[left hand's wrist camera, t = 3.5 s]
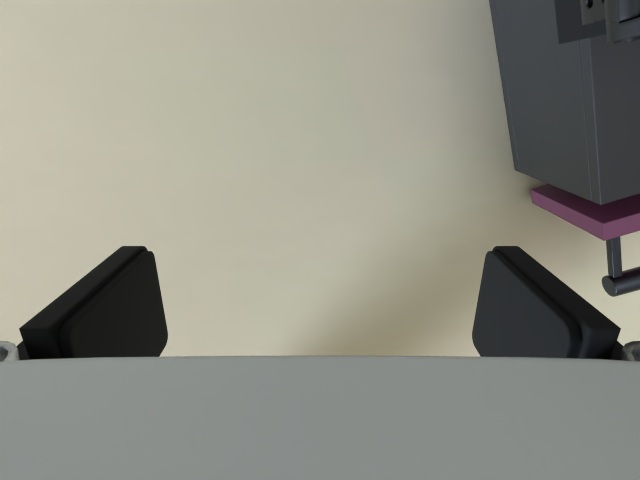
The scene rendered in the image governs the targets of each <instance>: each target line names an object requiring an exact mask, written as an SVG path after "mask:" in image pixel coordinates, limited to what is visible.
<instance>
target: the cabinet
mask: <svg viewBox="0 0 640 480" xmlns="http://www.w3.org/2000/svg"><path fill="white" fill-rule="evenodd" d="M489 1H490V8H491V14H492V21H493V28H494V34H495V41H496V47H497V54H498V61H499V67H500V74H501V80H502V87H503V94H504V100H505V107H506V113H507V120H508V127H509V133H510V140H511V146H512V153H513V160H514V166H515V170H516V171H519V172H521V173H524V174H526V175H529V176H531V177H534V178H536V179H538V180H541V181H543V182H546V183H548V184H551V185H553V186H556V187H558V188H560V189H563V190H565V191H568V192H570V193H573V194H575V195H578V196H580V197H582V198H585V199H587V200H590V201H593V202H595V203H598V204H600V205H603V204H606V203H609V202H613V201H616V200H619V199H623V198H626V197H629V196H633V195H636V194H639V193H640V39H639V40H636V41H633V42H629V43H624V44H622V42H618V43H615V44H612V42H610V43H607V34H605V35H601V36H596V37H591V38H587V39H582V40H577V41H573V42H568V43H563V44H559V41H558V32H557V22H556V13H555V3H554V0H489Z"/></svg>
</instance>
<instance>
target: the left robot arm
mask: <svg viewBox="0 0 640 480" xmlns="http://www.w3.org/2000/svg"><path fill="white" fill-rule="evenodd" d="M19 330H20V333H21V335H22V338H23V341H22V342H21V343H20V344H19V345H17V346H16V345H15V344H13V343H11V342H8V341H0V480H640V341H632V342H629V343H627V344H625V345H624V346H623V345H621V344H620V343H619V342H618V341H617V338H618V335H619V333H620V330H621V328H619V327H618V326H617V325H616V324H614V323H613V322H612V321H611V320H609V319H608V318H607V317H606V316H604V315H603V314H602V313H601V312H599V311H598V310H597V309H596V308H594V307H593V306H592V305H591V304H589V303H588V302H587V301H586V300H584V299H583V298H582V297H581V296H579V295H578V294H577V293H576V292H574V291H573V290H572V289H571V288H569V287H568V286H567V285H566V284H564V283H563V282H562V281H561V280H559V279H558V278H557V277H556V276H554V275H553V274H552V273H551V272H549V271H548V270H547V269H546V268H544V267H543V266H542V265H541V264H539V263H538V262H537V261H536V260H534V259H533V258H532V257H531V256H529V255H528V254H527V253H526V252H524V251H523V250H522V249H521V248H520V247H518V246H496V247H494V248H493V250H492V251H489V252H488V253H487V254H486V257H485V262H484V268H483V274H482V280H481V285H480V291H479V297H478V303H477V308H476V314H475V320H474V326H473V331H472V339H473V343H474V346H475V348H476V349H477V351H478V353H479V354H480V356H481V357H445V356H190V357H159V356H160V354H161V353H162V351H163V349H164V348H165V346H166V343H167V339H168V331H167V326H166V320H165V314H164V308H163V303H162V297H161V291H160V285H159V280H158V274H157V268H156V262H155V257H154V254H153V253H152V252H151V251H148V250H147V248H146V247H144V246H122V247H120V248H119V249H118V250H117V251H116V252H114V253H113V254H112V255H111V256H109V257H108V258H107V259H106V260H104V261H103V262H102V263H101V264H99V265H98V266H97V267H96V268H94V269H93V270H92V271H91V272H89V273H88V274H87V275H86V276H84V277H83V278H82V279H81V280H79V281H78V282H77V283H76V284H74V285H73V286H72V287H71V288H69V289H68V290H67V291H66V292H64V293H63V294H62V295H61V296H59V297H58V298H57V299H56V300H54V301H53V302H52V303H51V304H49V305H48V306H47V307H46V308H44V309H43V310H42V311H41V312H39V313H38V314H37V315H36V316H34V317H33V318H32V319H31V320H29V321H28V322H27V323H26V324H24V325H23V326H22V327H21V328H19Z"/></svg>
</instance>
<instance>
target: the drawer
mask: <svg viewBox="0 0 640 480" xmlns="http://www.w3.org/2000/svg"><path fill="white" fill-rule="evenodd" d="M531 196H532V203H534V204H536V205H537V206H539V207H541V208H543V209H545V210H547V211H549V212H551V213H553V214H555V215H556V216H558V217H560V218H562V219H564V220H566V221H568V222H570V223H572V224H573V225H575V226H577V227H579V228H581V229H583V230H585V231H587V232H589V233H590V234H592V235H594V236H596V237H598V238H600V239H602V240H604V241H605V240H606V246H607V261H608V274H609V275H607V276H604V277H603V278H602V285H603V287H604V289H605V291H606V292H607V293H608V294H609V295H610V296H613V297H615V296H619V295H622V294H626V293H630V292H633V291H637V290H640V267H636V268H633V269H629V270H625V271H622V262H621V244H620V236H622V235H626V234H629V233H633V232H636V231H640V193H639V194H636V195H633V196H629V197H626V198H623V199H619V200H616V201H613V202H609V203H606V204H603V205H600V204H598V203H595V202H593V201H590V200H587V199H585V198H582V197H580V196H578V195H575V194H573V193H570V192H568V191H565V190H563V189H560V188H558V187H556V186H553V185H551V184H548V185H545V186H541V187H538V188H535V189H532V190H531Z"/></svg>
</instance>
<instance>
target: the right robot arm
mask: <svg viewBox="0 0 640 480" xmlns="http://www.w3.org/2000/svg"><path fill="white" fill-rule="evenodd" d="M554 3H555V13H556V22H557V32H558V41H559V44H563V43H568V42H573V41H577V40H582V39H587V38H591V37H596V36H601V35H605V34H607V43H610V42H612V44H615V43H618V42H622V44H624V43H629V42H633V41H636V40H639V39H640V0H554Z"/></svg>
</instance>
